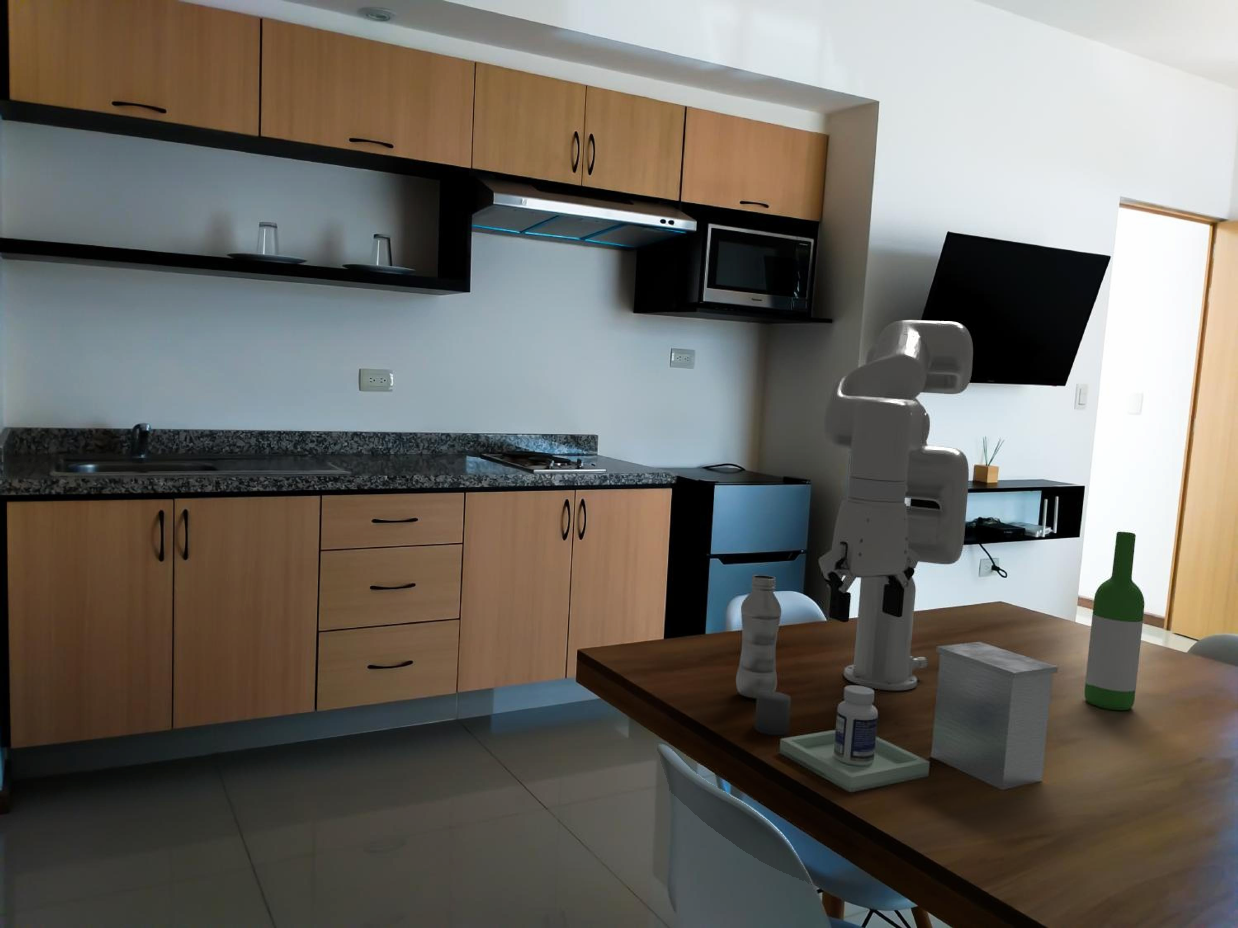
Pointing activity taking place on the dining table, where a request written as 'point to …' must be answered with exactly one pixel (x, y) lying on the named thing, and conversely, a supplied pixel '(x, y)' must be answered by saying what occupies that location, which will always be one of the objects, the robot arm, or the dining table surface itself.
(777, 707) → the stopper
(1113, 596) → the wine bottle
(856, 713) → the pill bottle
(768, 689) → the plastic bottle
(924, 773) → the tray
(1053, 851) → the dining table surface
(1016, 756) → the metal box
